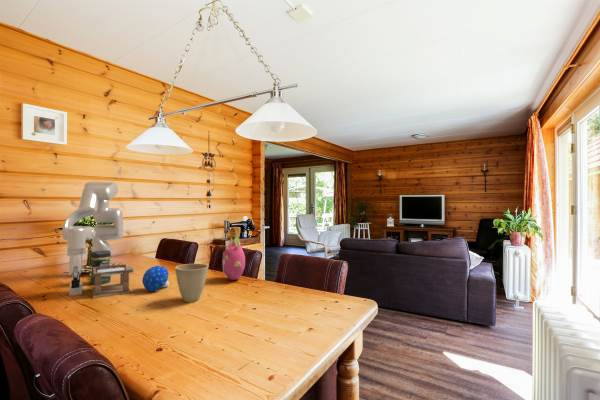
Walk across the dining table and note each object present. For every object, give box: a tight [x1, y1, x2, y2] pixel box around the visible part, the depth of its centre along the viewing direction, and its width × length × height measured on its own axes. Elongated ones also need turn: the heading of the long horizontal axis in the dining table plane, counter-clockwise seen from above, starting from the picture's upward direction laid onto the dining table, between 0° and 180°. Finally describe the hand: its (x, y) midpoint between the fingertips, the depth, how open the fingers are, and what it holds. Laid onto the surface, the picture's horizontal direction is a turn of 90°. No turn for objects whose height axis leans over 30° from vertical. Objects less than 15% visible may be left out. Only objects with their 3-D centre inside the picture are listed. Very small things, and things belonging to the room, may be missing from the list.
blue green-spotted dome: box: [141, 265, 170, 292], centre depth 163 cm, size 14×14×15 cm
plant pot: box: [175, 263, 209, 303], centre depth 147 cm, size 15×15×16 cm
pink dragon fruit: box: [221, 229, 246, 281], centre depth 184 cm, size 18×14×30 cm
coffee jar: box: [89, 250, 112, 286], centre depth 175 cm, size 10×8×19 cm
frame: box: [92, 263, 131, 299], centre depth 160 cm, size 20×16×12 cm
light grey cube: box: [69, 281, 83, 297], centre depth 155 cm, size 5×5×5 cm
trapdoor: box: [97, 266, 134, 276], centre depth 161 cm, size 12×16×2 cm
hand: (75, 285), depth 155 cm, fingers open, 9 cm apart
